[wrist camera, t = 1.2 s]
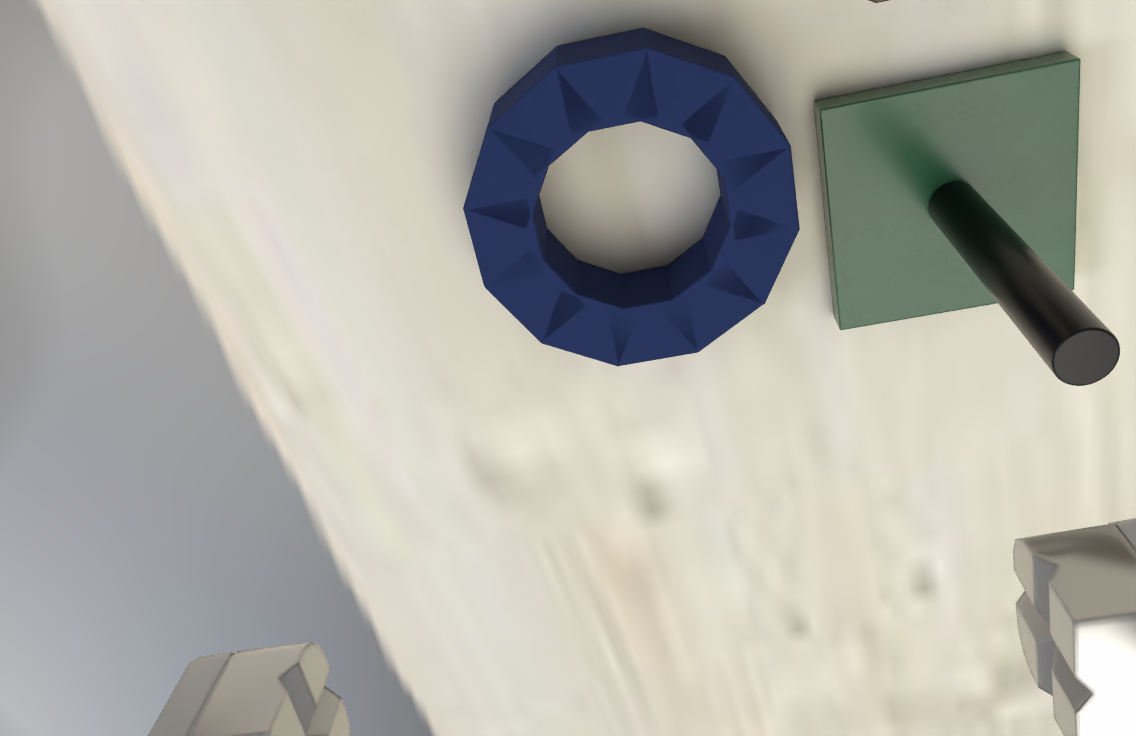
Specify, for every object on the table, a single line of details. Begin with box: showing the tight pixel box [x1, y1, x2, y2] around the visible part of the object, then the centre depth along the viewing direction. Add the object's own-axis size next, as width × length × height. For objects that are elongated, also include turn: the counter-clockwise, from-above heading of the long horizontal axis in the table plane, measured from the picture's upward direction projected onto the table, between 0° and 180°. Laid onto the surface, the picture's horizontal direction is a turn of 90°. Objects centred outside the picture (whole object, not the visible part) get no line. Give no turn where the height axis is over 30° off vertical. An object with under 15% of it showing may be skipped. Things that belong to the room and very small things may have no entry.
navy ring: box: [463, 28, 800, 366], centre depth 39 cm, size 12×12×3 cm
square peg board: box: [814, 52, 1120, 386], centre depth 34 cm, size 9×9×13 cm
